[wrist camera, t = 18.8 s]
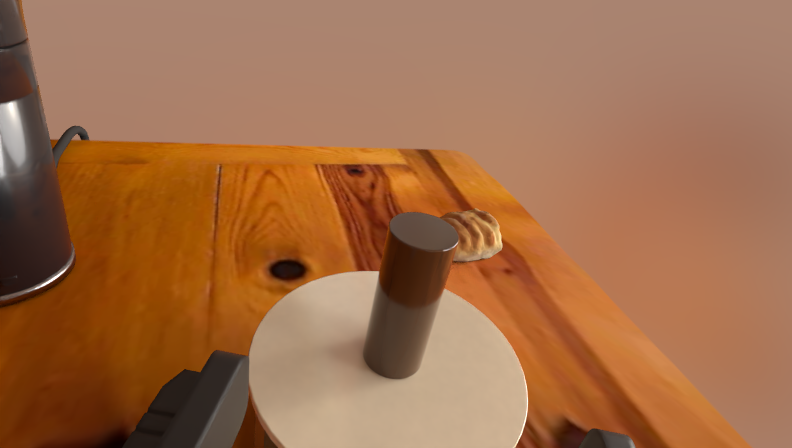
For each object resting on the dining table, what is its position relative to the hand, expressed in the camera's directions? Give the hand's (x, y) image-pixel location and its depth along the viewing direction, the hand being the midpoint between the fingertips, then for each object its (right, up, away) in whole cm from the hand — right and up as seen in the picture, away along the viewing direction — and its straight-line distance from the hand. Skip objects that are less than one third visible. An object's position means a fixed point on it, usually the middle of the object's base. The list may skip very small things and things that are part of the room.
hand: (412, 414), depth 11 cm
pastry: (+6, +2, +40) cm, 40 cm away
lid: (-1, -3, +12) cm, 13 cm away
